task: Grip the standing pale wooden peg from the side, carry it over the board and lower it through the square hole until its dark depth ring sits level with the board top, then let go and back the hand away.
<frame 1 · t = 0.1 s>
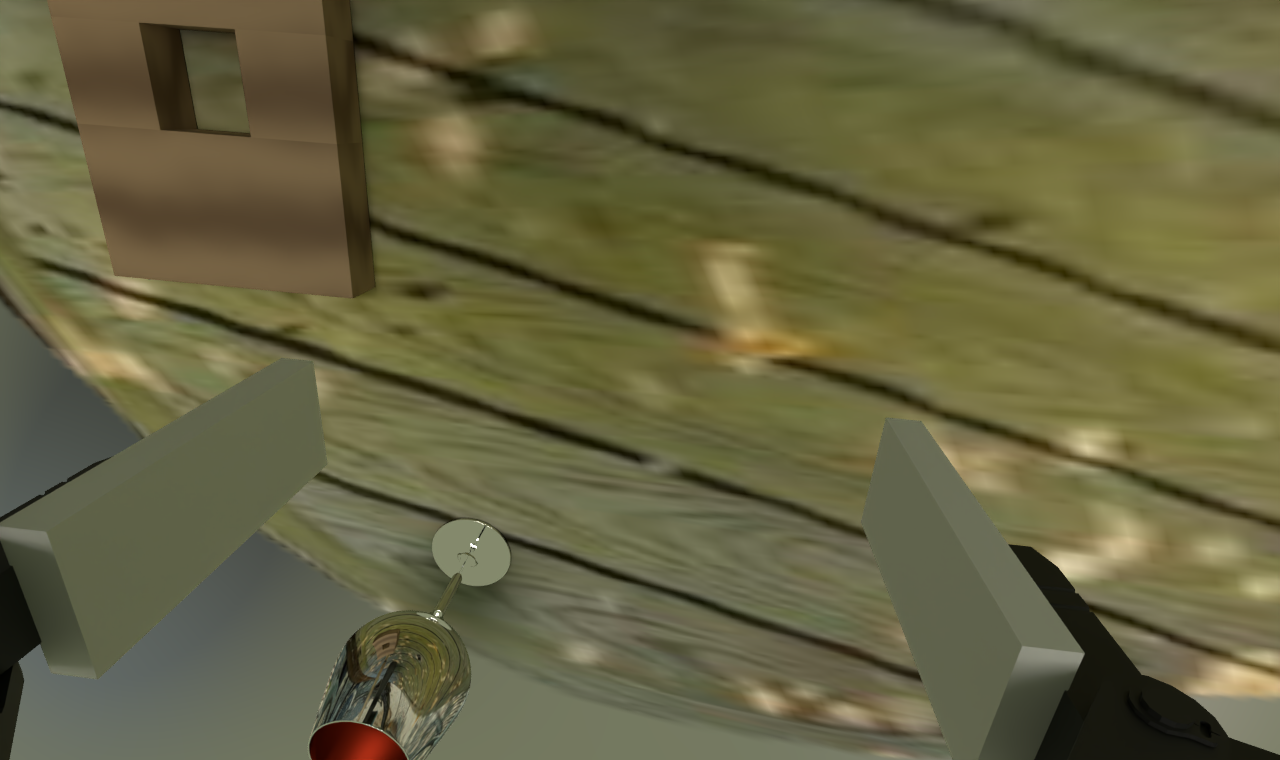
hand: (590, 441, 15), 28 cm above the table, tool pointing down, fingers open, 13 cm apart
wineglass: (472, 550, 52), on the table
board: (231, 83, 40), on the table
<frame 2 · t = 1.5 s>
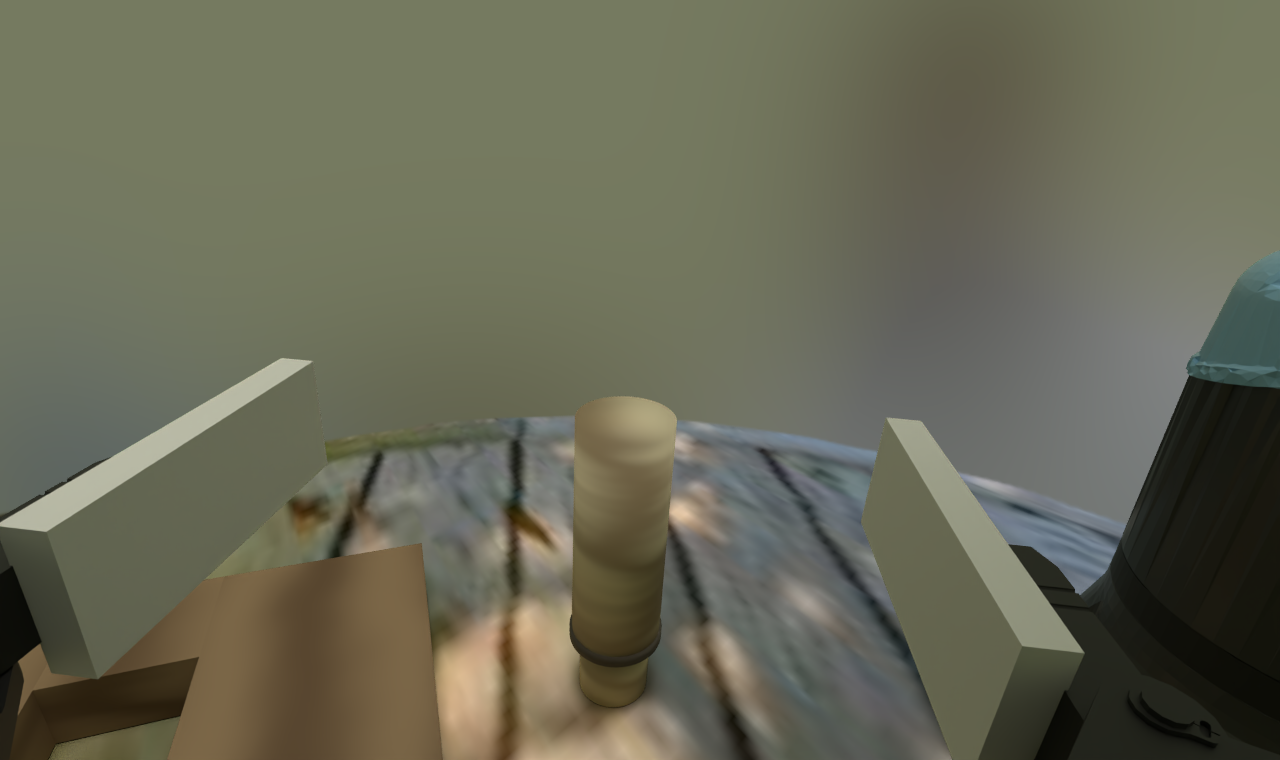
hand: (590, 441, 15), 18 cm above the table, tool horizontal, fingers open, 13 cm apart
peg: (612, 678, 31), on the table
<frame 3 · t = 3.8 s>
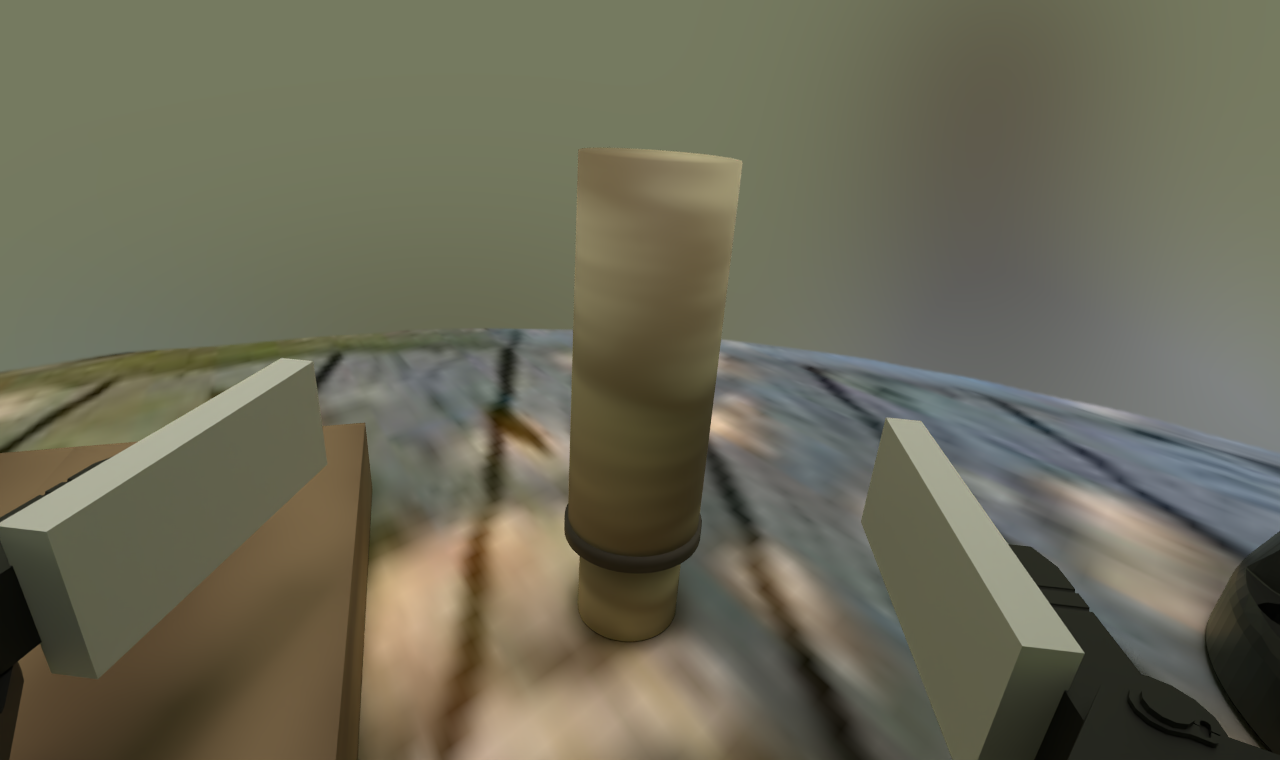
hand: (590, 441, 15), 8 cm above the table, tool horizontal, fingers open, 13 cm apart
peg: (626, 604, 21), on the table
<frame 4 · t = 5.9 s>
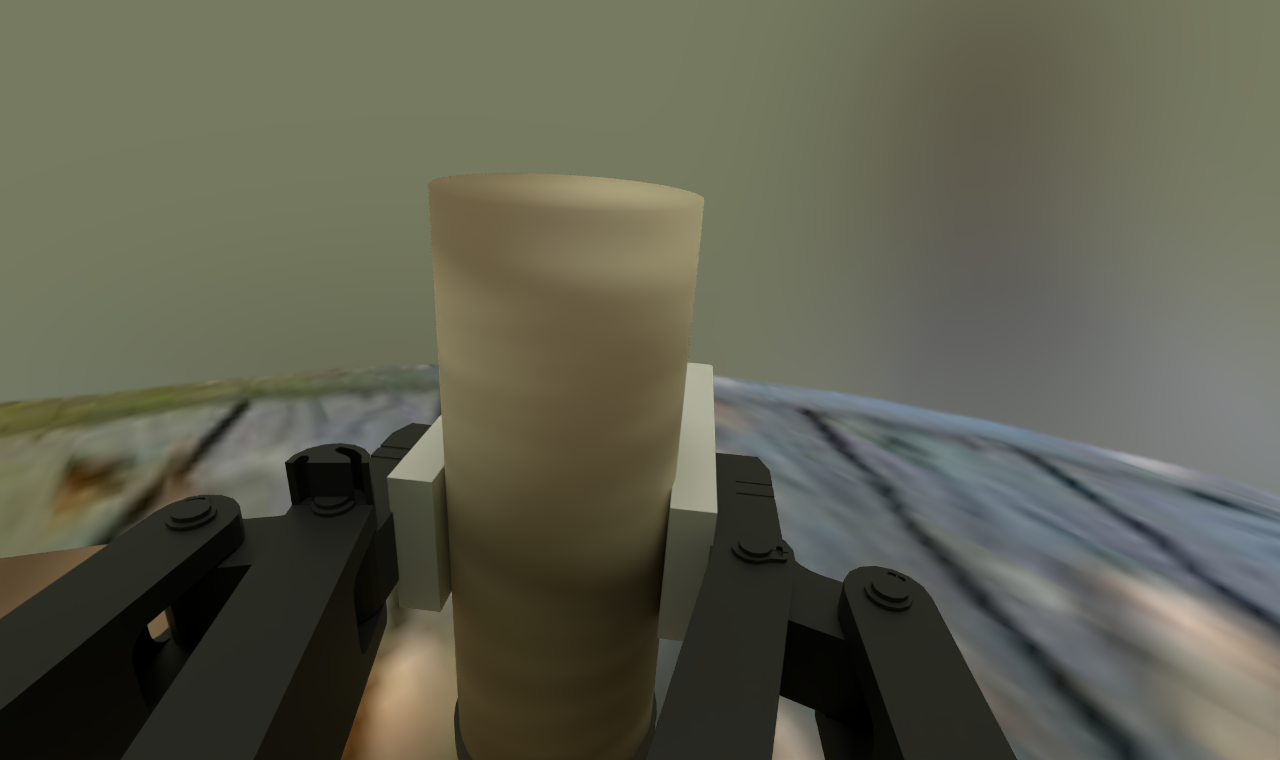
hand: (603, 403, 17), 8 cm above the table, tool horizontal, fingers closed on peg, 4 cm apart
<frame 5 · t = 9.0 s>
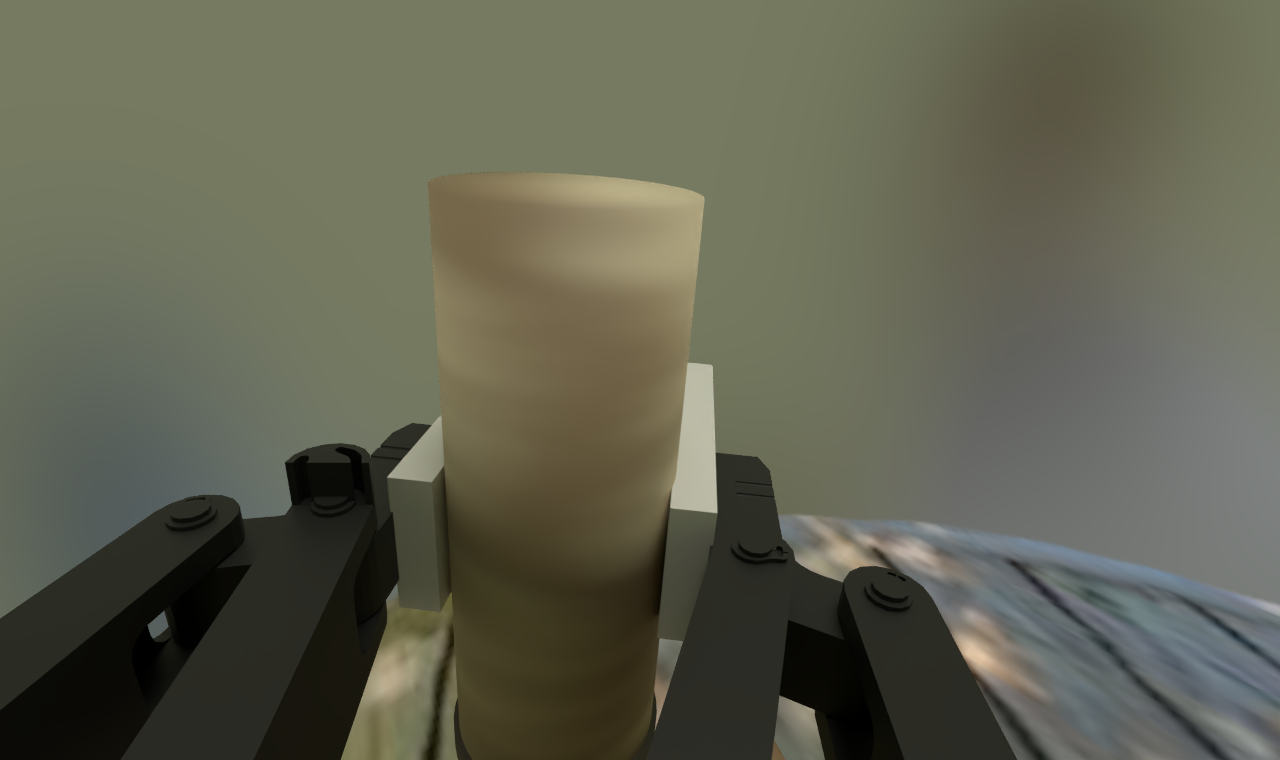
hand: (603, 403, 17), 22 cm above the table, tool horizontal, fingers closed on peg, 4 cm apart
when the fingers open (9 cm above the table, at t = 12.2 s): peg drops 1 cm, resting in board.
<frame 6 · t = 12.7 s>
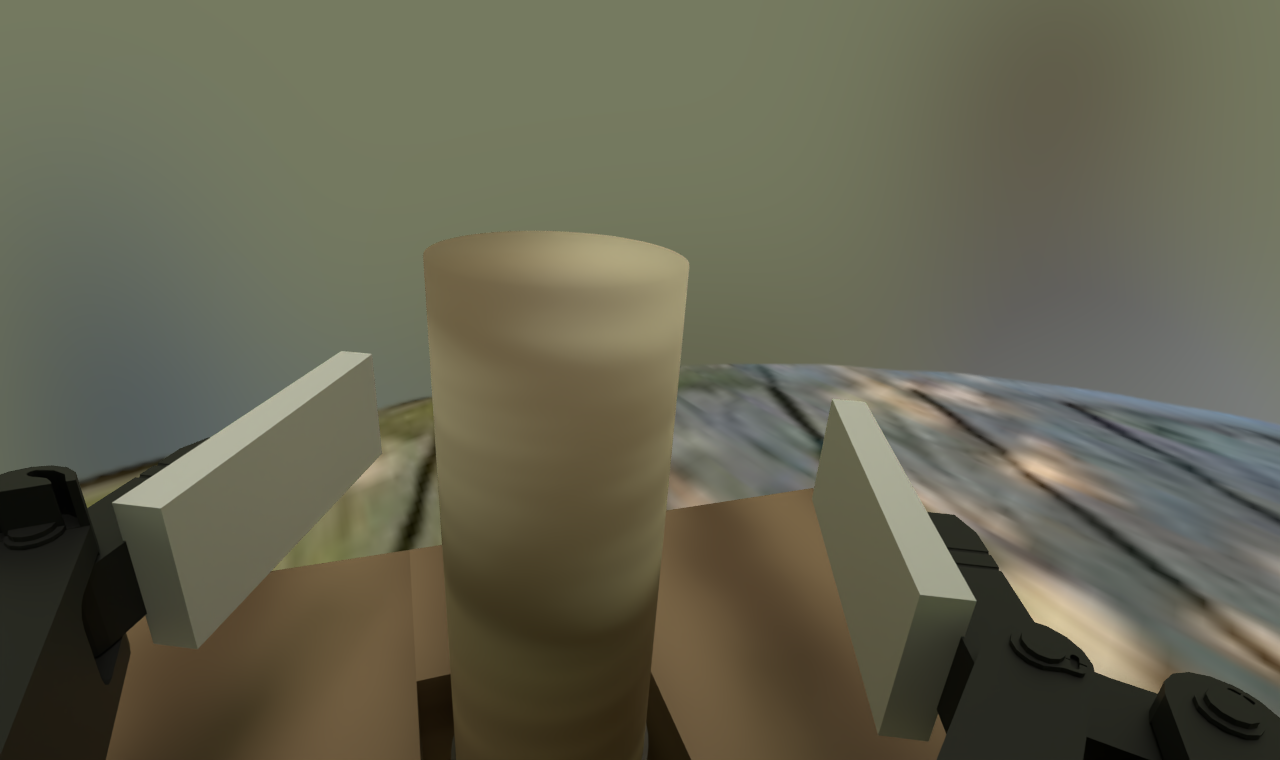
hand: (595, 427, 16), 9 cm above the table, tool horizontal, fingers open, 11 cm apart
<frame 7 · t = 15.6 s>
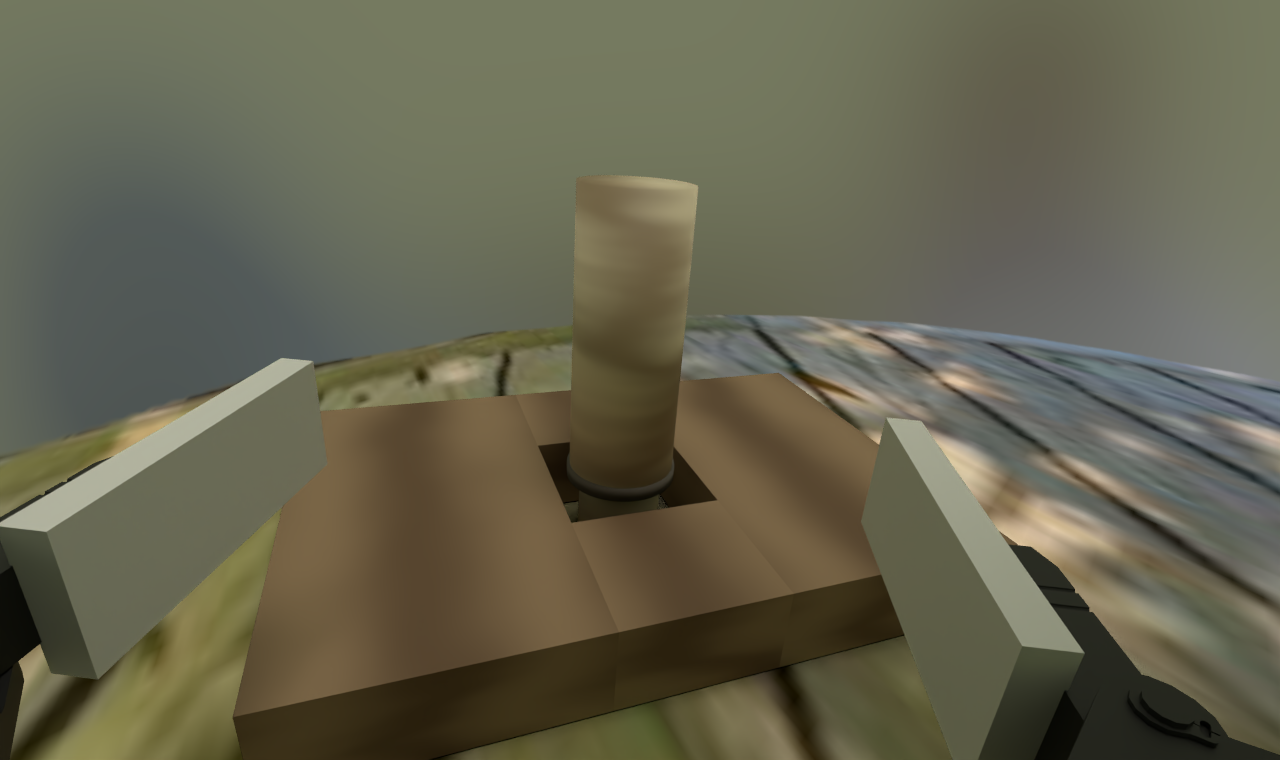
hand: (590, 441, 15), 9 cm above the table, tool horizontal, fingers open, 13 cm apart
board: (618, 534, 27), on the table
peg: (616, 534, 27), resting in board
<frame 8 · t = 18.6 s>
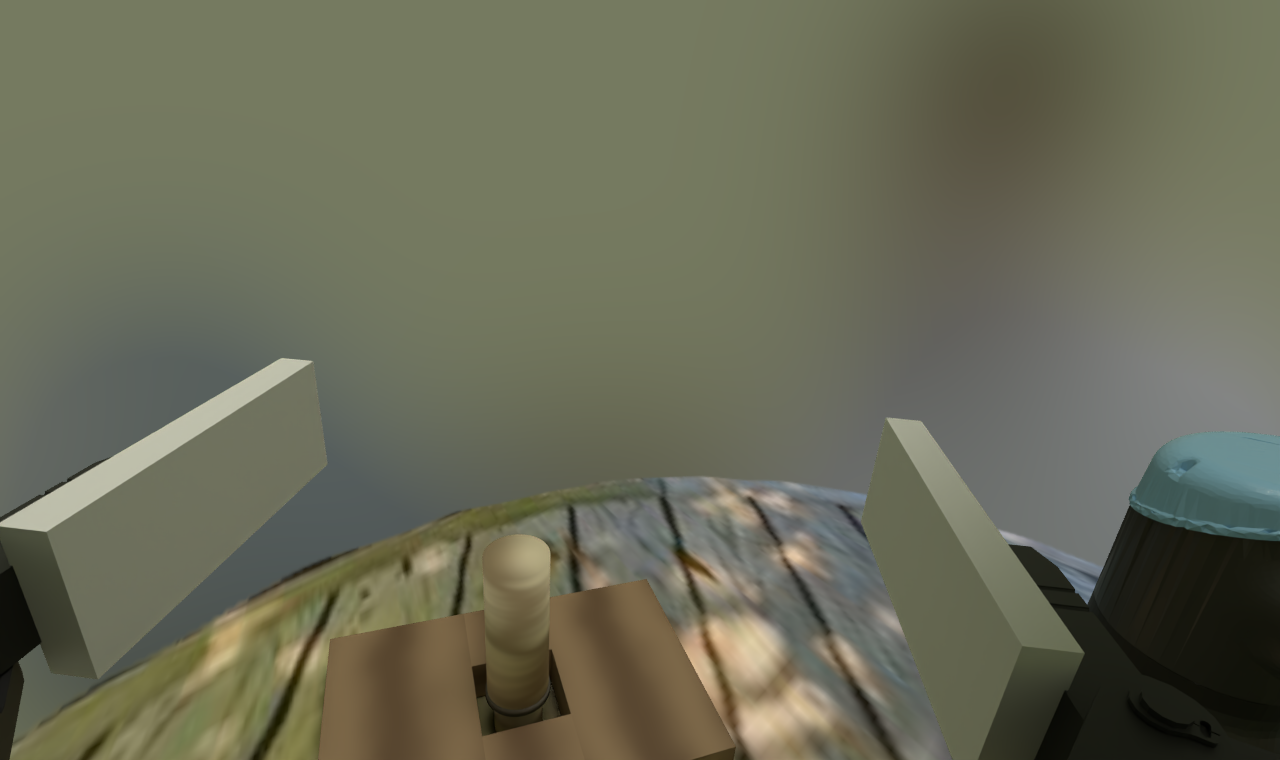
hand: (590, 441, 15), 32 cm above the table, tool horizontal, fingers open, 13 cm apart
board: (519, 721, 44), on the table
peg: (518, 721, 44), resting in board
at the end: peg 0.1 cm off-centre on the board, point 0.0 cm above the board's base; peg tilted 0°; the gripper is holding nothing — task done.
